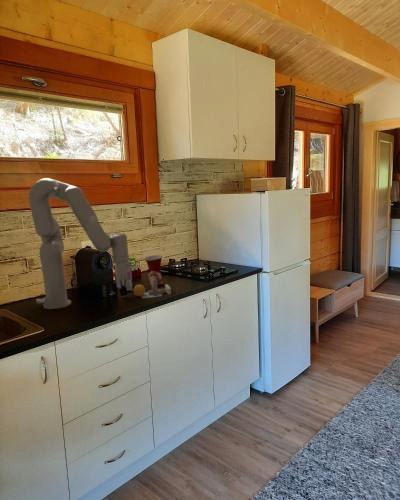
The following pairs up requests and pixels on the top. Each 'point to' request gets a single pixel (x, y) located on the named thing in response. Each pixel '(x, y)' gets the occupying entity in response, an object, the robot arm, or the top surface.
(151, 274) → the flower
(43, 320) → the top surface
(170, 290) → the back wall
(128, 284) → the candy box
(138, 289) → the ball
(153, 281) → the back pin near
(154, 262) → the plastic cup
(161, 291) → the front pin
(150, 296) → the pin deck mark
